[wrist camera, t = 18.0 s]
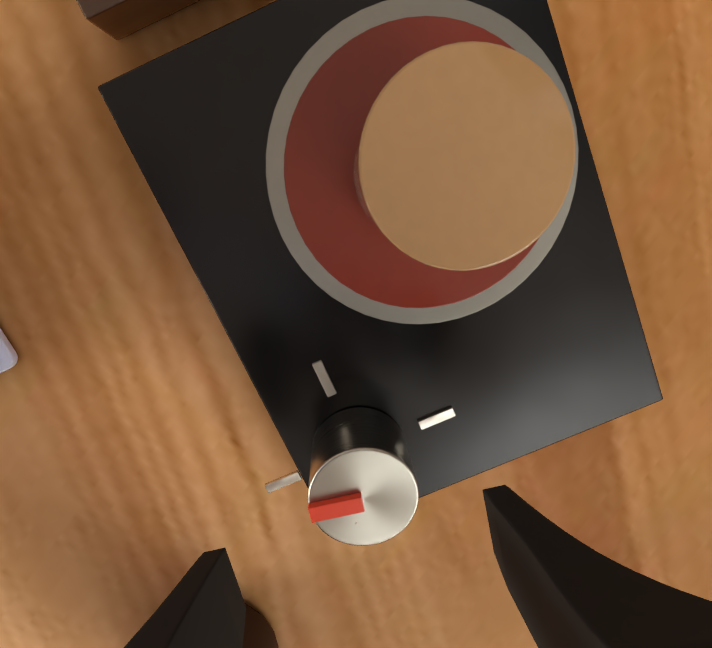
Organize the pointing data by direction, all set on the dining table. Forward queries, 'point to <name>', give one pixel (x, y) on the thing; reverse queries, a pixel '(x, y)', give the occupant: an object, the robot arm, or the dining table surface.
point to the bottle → (257, 631)
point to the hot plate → (349, 327)
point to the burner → (337, 153)
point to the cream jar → (465, 156)
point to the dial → (361, 478)
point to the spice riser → (128, 13)
